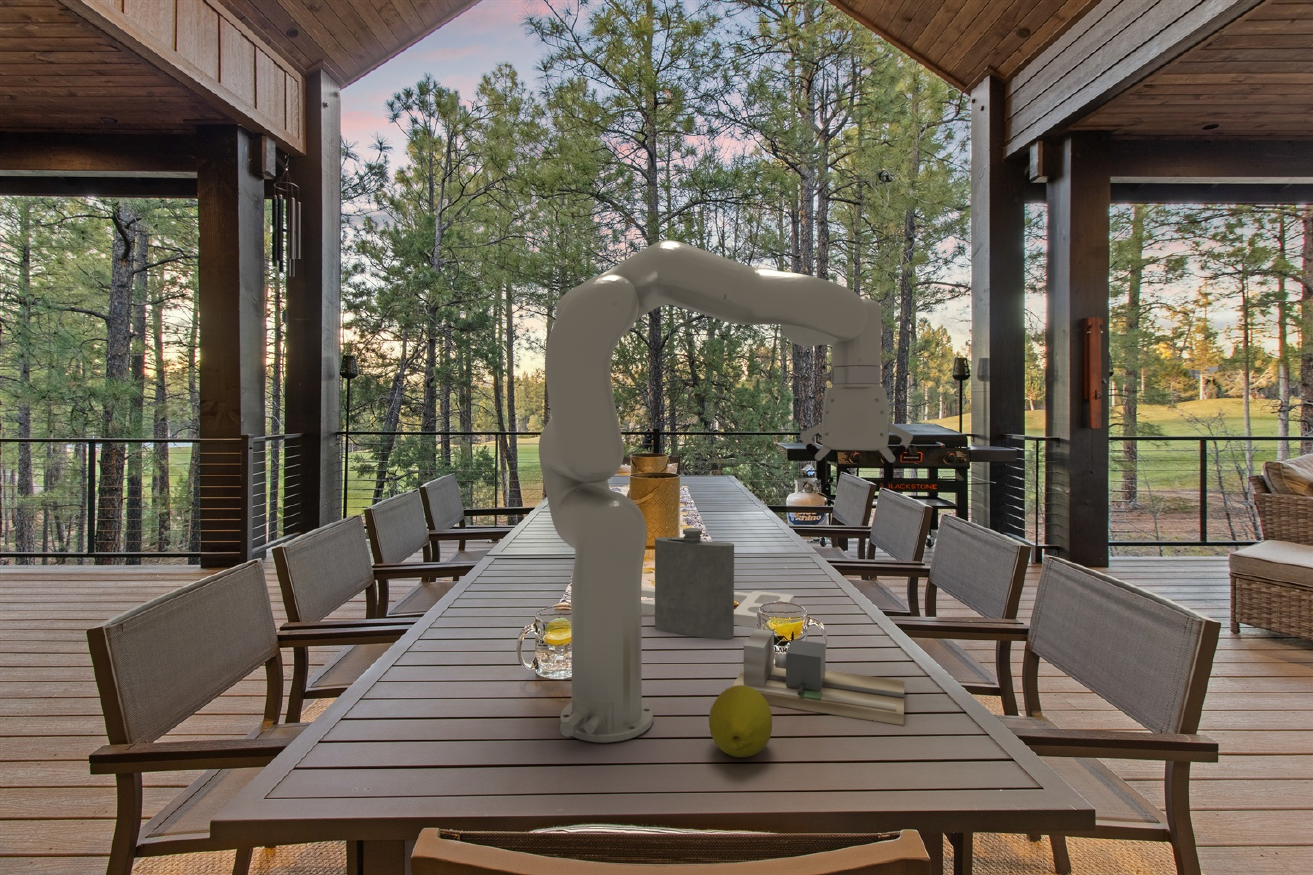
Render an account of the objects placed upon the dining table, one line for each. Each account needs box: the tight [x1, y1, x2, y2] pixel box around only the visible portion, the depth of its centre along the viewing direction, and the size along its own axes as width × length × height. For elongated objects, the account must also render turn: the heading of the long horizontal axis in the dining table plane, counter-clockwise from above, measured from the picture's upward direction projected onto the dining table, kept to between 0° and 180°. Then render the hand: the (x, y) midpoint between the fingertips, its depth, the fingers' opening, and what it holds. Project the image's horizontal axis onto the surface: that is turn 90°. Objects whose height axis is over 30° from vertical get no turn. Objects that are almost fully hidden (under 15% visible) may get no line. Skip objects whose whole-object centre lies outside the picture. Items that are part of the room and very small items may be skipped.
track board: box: [731, 628, 906, 726], centre depth 101 cm, size 12×24×8 cm, turn 69°
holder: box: [641, 586, 795, 629], centre depth 148 cm, size 45×18×3 cm, turn 68°
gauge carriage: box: [774, 639, 827, 696], centre depth 101 cm, size 9×7×5 cm
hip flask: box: [654, 527, 735, 641], centre depth 129 cm, size 16×4×20 cm, turn 65°
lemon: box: [708, 685, 773, 758], centre depth 84 cm, size 11×8×8 cm
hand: (854, 485), depth 109 cm, fingers open, 9 cm apart
